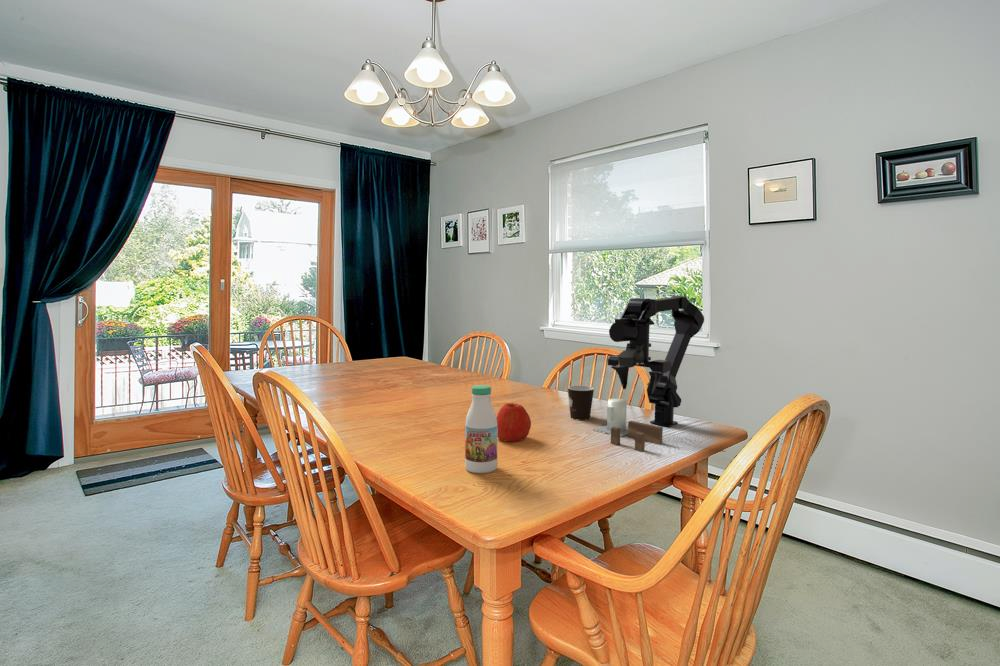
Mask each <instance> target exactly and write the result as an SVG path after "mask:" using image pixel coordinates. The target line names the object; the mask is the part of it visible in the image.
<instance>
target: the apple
mask: <svg viewBox="0 0 1000 666" xmlns="http://www.w3.org/2000/svg"><path fill="white" fill-rule="evenodd" d="M496 418H497V439H499V440H501V441H504V442H507V441H508V442H507V443H510V442H511V443H517V442H521V441H523V440H525V439H526V438H527V437H528V436H529V433H530V430H531V427H532V422H531V417H530V415H529V413H528V412H527V410H526V409H525V407H524V406H523V405H521V404H519V403H513V402H511V403H509V402H506V403H504V404H503V405H502V406H501V408H500V409H499V411H498V412H497V414H496Z"/></svg>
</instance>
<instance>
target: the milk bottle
mask: <svg viewBox="0 0 1000 666" xmlns="http://www.w3.org/2000/svg"><path fill="white" fill-rule="evenodd" d="M491 393H492V387H491V386H490V385H487V384H485V385H484V384H477V385H473V386H472V387H471V397H472V401H471V404H470V407H469V409H468V412H467V414H466V418H465V429H464V430H465V432H464V437H465V438H464V439H465V440H464V459H465V460H464V465H465V470H467V471H468V472H470V473H473V474H489V473H492V472H495V471H496V470H497V469H498V437H497V414H496V412H495V409H494V408H493V405H492V402H491V401H492V400H491V396H492V394H491Z"/></svg>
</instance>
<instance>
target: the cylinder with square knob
mask: <svg viewBox="0 0 1000 666" xmlns="http://www.w3.org/2000/svg"><path fill="white" fill-rule="evenodd" d="M627 406H628V405H627V400H626V399H624V398H623V399H622V398H608V399H607V406H606V422H607V423H606V425H607V430H609V431H611V428H612V427H618V428H620V432H624V431H626V427H627V409H628V407H627Z"/></svg>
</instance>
